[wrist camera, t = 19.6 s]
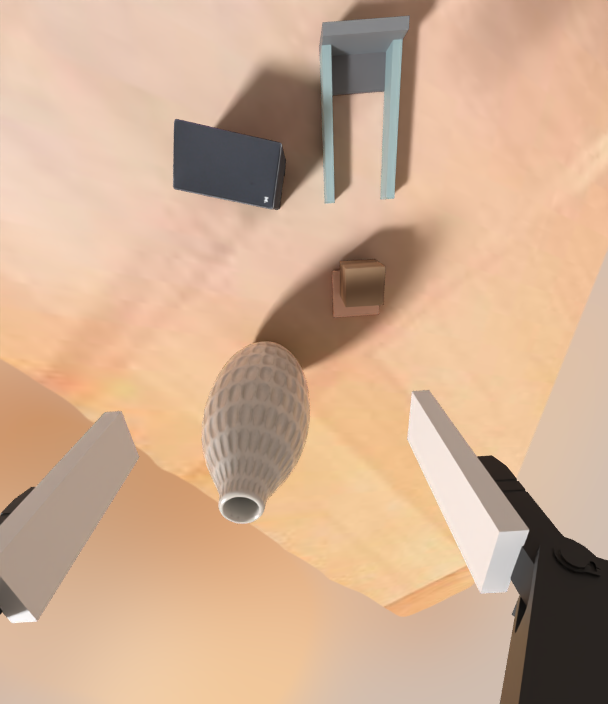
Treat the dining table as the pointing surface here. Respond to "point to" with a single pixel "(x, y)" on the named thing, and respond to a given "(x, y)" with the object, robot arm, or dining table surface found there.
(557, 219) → the dining table surface
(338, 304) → the tile
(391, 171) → the channel
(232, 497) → the vase
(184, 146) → the small box
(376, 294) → the block
